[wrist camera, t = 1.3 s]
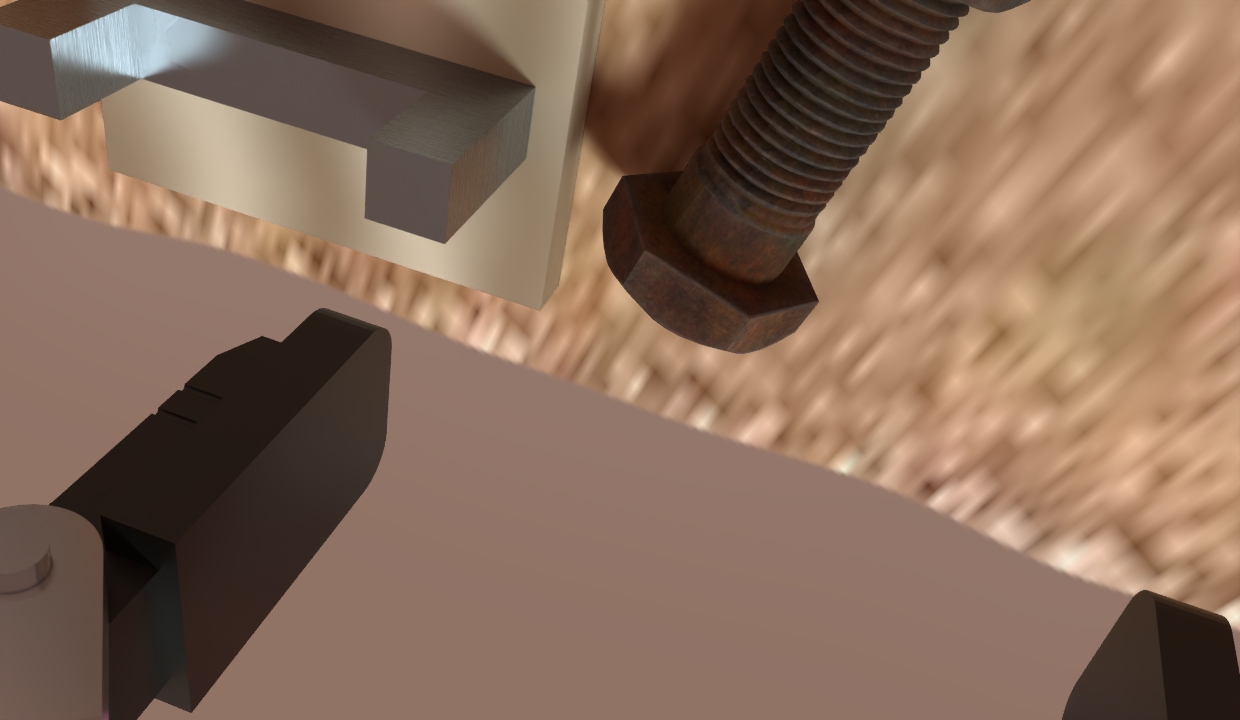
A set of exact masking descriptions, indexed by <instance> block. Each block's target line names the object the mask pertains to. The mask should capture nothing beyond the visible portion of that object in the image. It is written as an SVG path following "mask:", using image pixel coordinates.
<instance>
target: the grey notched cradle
mask: <svg viewBox="0 0 1240 720" xmlns="http://www.w3.org/2000/svg"><path fill="white" fill-rule="evenodd" d="M140 79H144V80H147V81H150V82H153V83H156V84H160V85H163V86H166V87H169V88H172V89H176V90H179V91H182V92H185V93H188V94H192V95H195V96H198V97H201V98H204V99H208V100H211V101H214V102H217V103H220V104H224V105H227V106H230V107H233V108H236V109H240V110H243V111H246V112H249V113H252V114H256V115H259V116H262V117H265V118H268V119H272V120H275V121H278V122H281V123H284V124H288V125H291V126H294V127H297V128H300V129H304V130H307V131H310V132H313V133H316V134H320V135H323V136H326V137H329V138H332V139H336V140H339V141H342V142H345V143H348V144H352V145H355V146H358V147H361V148H364V149H367V165H366V191H365V217H364V218H365V219H368V220H371V221H374V222H377V223H380V224H383V225H387V226H390V227H393V228H396V229H399V230H402V231H405V232H408V233H411V234H414V235H417V236H421V237H424V238H427V239H430V240H433V241H436V242H439V243H442V244H446V243H447V242H448V240H449V239H450V238H451V237H452V236H453V235H454V234H455V233H456V232H457V231H458V230H459V229H460V228H461V227H462V226H463V225H464V224H465V223H466V221H467V220H468V219H469V218H470V217H471V216H472V215H473V214H474V213H475V212H476V211H477V210H478V209H479V208H480V207H481V206H482V205H483V204H484V203H485V201H486V200H487V199H488V198H489V197H490V196H491V195H492V194H493V193H494V192H495V191H496V190H497V189H498V188H499V187H500V186H501V185H502V184H503V183H504V181H505V180H506V179H507V178H508V177H509V176H510V175H511V174H512V173H513V172H514V171H515V170H516V169H517V168H518V167H519V166H520V165H521V164H522V162H523V161H524V160H525V159H526V157H527V150H528V142H529V135H530V127H531V120H532V112H533V105H534V97H535V89H536V87H535V86H532V85H528V84H525V83H521V82H518V81H515V80H511V79H508V78H505V77H501V76H498V75H494V74H491V73H488V72H484V71H481V70H478V69H474V68H471V67H467V66H464V65H461V64H457V63H454V62H451V61H447V60H444V59H440V58H437V57H434V56H430V55H427V54H423V53H420V52H417V51H413V50H410V49H407V48H403V47H400V46H396V45H393V44H390V43H386V42H383V41H380V40H376V39H373V38H369V37H366V36H363V35H359V34H356V33H353V32H349V31H346V30H342V29H339V28H336V27H332V26H329V25H326V24H322V23H319V22H315V21H312V20H309V19H305V18H302V17H298V16H295V15H292V14H288V13H285V12H282V11H278V10H275V9H271V8H268V7H265V6H261V5H258V4H255V3H251V2H248V1H244V0H18V1H15V2H13V3H10V4H7V5H5V6H2V7H0V101H2V102H5V103H8V104H12V105H15V106H18V107H21V108H24V109H27V110H30V111H33V112H36V113H39V114H43V115H46V116H49V117H52V118H55V119H58V120H63V119H64V118H66V117H68V116H70V115H72V114H74V113H76V112H78V111H80V110H82V109H84V108H86V107H88V106H90V105H92V104H94V103H95V102H97V101H99V100H101V99H103V98H105V97H107V96H109V95H111V94H113V93H115V92H117V91H119V90H121V89H123V88H124V87H126V86H128V85H130V84H132V83H134V82H136V81H138V80H140Z"/></svg>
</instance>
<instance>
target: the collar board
mask: <svg viewBox="0 0 1240 720" xmlns="http://www.w3.org/2000/svg"><path fill="white" fill-rule="evenodd" d="M244 1H248V2H251V3H255V4H258V5H261V6H265V7H268V8H271V9H275V10H278V11H282V12H285V13H288V14H292V15H295V16H298V17H302V18H305V19H309V20H312V21H315V22H319V23H322V24H326V25H329V26H332V27H336V28H339V29H342V30H346V31H349V32H353V33H356V34H359V35H363V36H366V37H369V38H373V39H376V40H380V41H383V42H386V43H390V44H393V45H396V46H400V47H403V48H407V49H410V50H413V51H417V52H420V53H423V54H427V55H430V56H434V57H437V58H440V59H444V60H447V61H451V62H454V63H457V64H461V65H464V66H467V67H471V68H474V69H478V70H481V71H484V72H488V73H491V74H494V75H498V76H501V77H505V78H508V79H511V80H515V81H518V82H521V83H525V84H528V85H532V86H535V87H536V89H535V97H534V105H533V112H532V120H531V127H530V135H529V142H528V150H527V157H526V159H525V160H524V161H523V162H522V164H521V165H520V166H519V167H518V168H517V169H516V170H515V171H514V172H513V173H512V174H511V175H510V176H509V177H508V178H507V179H506V180H505V181H504V183H503V184H502V185H501V186H500V187H499V188H498V189H497V190H496V191H495V192H494V193H493V194H492V195H491V196H490V197H489V198H488V199H487V200H486V201H485V203H484V204H483V205H482V206H481V207H480V208H479V209H478V210H477V211H476V212H475V213H474V214H473V215H472V216H471V217H470V218H469V219H468V220H467V221H466V223H465V224H464V225H463V226H462V227H461V228H460V229H459V230H458V231H457V232H456V233H455V234H454V235H453V236H452V237H451V238H450V239H449V240H448V242H447V243H446V244H442V243H439V242H436V241H433V240H430V239H427V238H424V237H421V236H417V235H414V234H411V233H408V232H405V231H402V230H399V229H396V228H393V227H390V226H387V225H383V224H380V223H377V222H374V221H371V220H368V219H365V218H364V217H365V191H366V165H367V149H364V148H361V147H358V146H355V145H352V144H348V143H345V142H342V141H339V140H336V139H332V138H329V137H326V136H323V135H320V134H316V133H313V132H310V131H307V130H304V129H300V128H297V127H294V126H291V125H288V124H284V123H281V122H278V121H275V120H272V119H268V118H265V117H262V116H259V115H256V114H252V113H249V112H246V111H243V110H240V109H236V108H233V107H230V106H227V105H224V104H220V103H217V102H214V101H211V100H208V99H204V98H201V97H198V96H195V95H192V94H188V93H185V92H182V91H179V90H176V89H172V88H169V87H166V86H163V85H160V84H156V83H153V82H150V81H147V80H144V79H140V80H138V81H136V82H134V83H132V84H130V85H128V86H126V87H124V88H123V89H121V90H119V91H117V92H115V93H113V94H111V95H109V96H107V97H105V98H103V99H101V102H102V111H103V120H104V128H105V137H106V146H107V155H108V164H109V170H112V171H115V172H118V173H121V174H124V175H127V176H130V177H133V178H136V179H139V180H142V181H145V182H149V183H152V184H155V185H158V186H161V187H164V188H167V189H170V190H173V191H176V192H179V193H182V194H185V195H188V196H191V197H194V198H197V199H200V200H203V201H206V202H210V203H213V204H216V205H219V206H222V207H225V208H228V209H231V210H234V211H237V212H240V213H243V214H246V215H249V216H252V217H255V218H258V219H261V220H264V221H268V222H271V223H274V224H277V225H280V226H283V227H286V228H289V229H292V230H295V231H298V232H301V233H304V234H307V235H310V236H313V237H316V238H319V239H322V240H325V241H329V242H332V243H335V244H338V245H341V246H344V247H347V248H350V249H353V250H356V251H359V252H362V253H365V254H368V255H371V256H374V257H377V258H380V259H383V260H386V261H390V262H393V263H396V264H399V265H402V266H405V267H408V268H411V269H414V270H417V271H420V272H423V273H426V274H429V275H432V276H435V277H438V278H441V279H444V280H447V281H451V282H454V283H457V284H460V285H463V286H466V287H469V288H472V289H475V290H478V291H481V292H484V293H487V294H490V295H493V296H496V297H499V298H502V299H505V300H509V301H512V302H515V303H518V304H521V305H524V306H527V307H530V308H533V309H536V310H539V311H541V309H542V308H543V306H544V305H545V304H546V302H547V301H548V300H549V298H550V297H551V295H552V294H553V293H554V291H555V290H556V288H557V287H558V286H559V280H560V274H561V268H562V261H563V255H564V249H565V243H566V237H567V231H568V225H569V219H570V213H571V206H572V200H573V194H574V188H575V182H576V176H577V170H578V164H579V157H580V151H581V145H582V139H583V133H584V127H585V121H586V115H587V108H588V102H589V96H590V90H591V84H592V78H593V72H594V66H595V59H596V53H597V47H598V41H599V35H600V29H601V23H602V17H603V11H604V4H605V0H244Z"/></svg>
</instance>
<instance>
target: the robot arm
mask: <svg viewBox="0 0 1240 720" xmlns="http://www.w3.org/2000/svg"><path fill="white" fill-rule="evenodd" d="M391 349H392V342H391V336H390V333H389V331H388V330H387V329H385V328H382V327H379V326H376V325H373V324H370V323H367V322H364V321H361V320H358V319H356V318H353V317H350V316H347V315H344V314H341V313H338V312H335V311H332V310H329V309H326V308H321V309H318V310H316V311H315V312H313V313H312V314H311V315H310V316H309V317H308V318H307V319H306V320H305V321H303V322H302V323H301V324H300V325H299V326H298V327H297V328H296V329H295V330H294V331H293V332H292V333H291V334H290V335H289V336H288V337H287V338H286V339H285V340H283V342H278V341H275V340H272V339H269V338H266V337H263V336H261V337H259V338H257V339H254V340H252V341H250V342H247V343H245V344H243V345H240V346H238V347H235V348H233V349H231V350H228V351H226V352H224V353H221V354H219V355H217V356H216V357H215V358H214V359H213V360H211V361H210V362H209V363H208V364H207V365H206V366H205V367H203V368H202V369H201V370H200V371H199V372H198V373H197V374H195V375H194V376H193V377H192V378H191V379H190V380H189V381H188V382H187V383H185V386H184V389H183V390H182V391H181V390H178V391H176V392H175V393H174V394H173V395H172V396H171V397H170V398H169V399H167V400H166V401H165V402H164V403H163V404H162V405H161V406H160V407H159V408H158V412H157V413H156V415H154V414H151V415H150V416H148V417H147V418H146V419H145V420H144V421H143V422H142V423H141V424H139V425H138V426H137V427H136V428H135V429H134V430H133V431H132V432H130V434H128V435H127V436H126V437H125V438H124V439H123V440H122V441H120V442H119V443H118V444H117V445H116V446H115V447H114V448H113V449H111V450H110V451H109V452H108V453H107V454H106V455H105V456H104V457H103V458H101V459H100V460H99V461H98V462H97V463H96V464H95V465H94V466H93V467H91V468H90V469H89V470H88V471H87V472H86V473H85V474H84V475H82V476H81V477H80V478H79V479H78V480H77V481H76V482H74V483H73V484H72V485H71V486H70V487H69V488H68V489H67V490H65V492H63V493H62V494H61V495H60V496H59V497H58V498H57V499H55V500H54V501H53V502H52V503H50V504H49V505H36V504H30V505H17V506H10V507H4V508H0V720H137V719H138V717H139V716H140V715H141V714H142V713H143V711H144V710H145V709H146V708H147V706H148V705H149V704H150V703H151V702H152V700H153V699H154V698H156V699H159V700H161V701H163V702H166V703H168V704H171V705H173V706H176V707H178V708H181V709H183V710H186V711H188V712H190V713H191V712H193V710H194V709H195V708H196V706H197V705H198V704H199V702H200V701H201V700H202V699H203V697H204V696H205V695H206V694H207V692H208V691H209V690H210V688H211V687H212V686H213V685H214V683H215V682H216V681H217V679H218V678H219V677H220V676H221V674H222V673H223V672H224V670H225V669H226V668H227V666H228V665H229V664H230V662H232V660H233V659H234V658H235V656H236V655H237V654H238V652H239V651H240V650H241V649H242V647H243V646H244V645H245V644H246V642H247V641H248V640H249V638H250V637H251V636H252V634H253V633H254V632H255V631H256V630H257V628H258V627H259V626H260V624H261V623H262V622H263V621H264V619H265V618H266V617H267V615H268V614H269V613H270V612H271V610H272V609H273V608H274V606H275V605H276V604H277V602H278V601H279V600H280V599H281V597H282V596H283V595H284V594H285V592H286V591H287V590H288V588H289V587H290V586H291V585H292V583H293V582H294V581H295V579H296V578H297V577H298V575H299V574H300V573H301V572H302V571H303V569H304V568H305V567H306V565H307V564H308V563H309V561H310V560H311V559H312V558H313V556H314V555H315V554H316V552H317V551H318V550H319V549H320V547H321V546H322V545H323V543H324V542H325V541H326V540H327V538H328V537H329V536H330V535H331V533H332V532H333V531H334V529H335V528H336V527H337V526H338V524H339V523H340V522H341V520H342V519H343V518H344V517H345V515H346V514H347V513H348V511H349V510H350V509H351V508H352V506H353V505H354V504H355V503H356V501H357V500H358V499H359V497H360V496H361V495H362V494H363V492H364V491H365V489H366V488H367V487H368V485H369V483H370V482H371V480H372V478H373V476H374V474H375V472H376V470H377V467H378V465H379V462H380V460H381V456H382V454H383V450H384V446H385V441H386V433H387V415H388V399H389V383H390V382H389V381H390V365H391ZM1062 720H1240V673H1239V667H1238V662H1237V656H1236V650H1235V645H1234V639H1233V634H1232V629H1231V626H1230V624H1229V622H1228V620H1227V619H1226V618H1225V617H1223V616H1221V615H1219V614H1216V613H1213V612H1210V611H1207V610H1204V609H1201V608H1198V607H1195V606H1192V605H1189V604H1186V603H1183V602H1180V601H1177V600H1174V599H1172V598H1169V597H1166V596H1163V595H1160V594H1157V593H1154V592H1151V591H1148V590H1143V591H1140V592H1139V593H1137V594H1136V595H1135V596H1134V597H1133V598H1132V600H1131V601H1130V602H1129V604H1128V605H1127V607H1126V608H1125V610H1124V611H1123V613H1122V614H1121V616H1120V617H1119V619H1118V620H1117V622H1116V623H1115V625H1114V626H1113V628H1112V629H1111V631H1110V632H1109V634H1108V635H1107V637H1106V638H1105V640H1104V641H1103V643H1102V644H1101V646H1100V648H1099V649H1098V651H1097V652H1096V654H1095V655H1094V657H1093V658H1092V660H1091V661H1090V663H1089V664H1088V666H1087V668H1086V669H1085V670H1084V672H1083V674H1082V675H1081V677H1080V678H1079V679H1078V681H1077V683H1076V684H1075V686H1074V688H1073V690H1072V692H1071V694H1070V696H1069V699H1068V701H1067V704H1066V707H1065V710H1064V714H1063V717H1062Z"/></svg>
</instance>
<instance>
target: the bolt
mask: <svg viewBox="0 0 1240 720" xmlns="http://www.w3.org/2000/svg"><path fill="white" fill-rule="evenodd" d="M1029 1H1031V0H802V1H798V2H796V3H795V4H793V6H792V8H793V13H794V14H789V15H788V16H787V17H785V18H784V24H785V26H782V27H780V28H779V29H778V30H777V31H776V39H772V40H771V41H770V42H769V46H768V51H766V52H763V54H762V58H761V63H758V64H757V65H756V66H755V67H754V72H753V75H751V76H749V77H748V78H747V80H746V84H745V87H743V88H741V89H740V90H739V92H738V95H737V98H736V99H735V100H734V101H732V102H731V105H730V107H729V110H728V111H727V112H726V113H725V114H724V115H723V117H722V118H721V121H722V122H720V123H719V124H718V125H717V126H716V128H715V131H714V133H713V134H712V135H711V136H710V137H709V139H708V140H707V142H706V143H705V145H704V146H702V147H700V148H699V149H698V150H697V151H696V152H695V154H694V156H693V157H692V159H691V160H690V162H689V163H688V165H687V166H686V168H685V170H684V171H680V172H667V173H654V174H641V175H628V176H622V178H621V180H620V181H619V183H618V185H617V186H616V188H615V190H614V192H613V193H612V195H611V197H610V199H609V200H608V202H607V204H606V205H605V207H604V209H603V243H604V250H605V255H606V259H607V263H608V266H609V267H610V269H611V271H612V273H613V274H614V276H615V277H616V278H617V280H618V281H619V282H620V284H621V285H622V286H623V287H624V289H625V290H626V291H627V292H628V294H629V295H630V296H631V297H632V298H633V299H634V300H635V301H636V302H637V303H638V304H639V305H640V306H641V307H642V308H643V309H644V311H645V312H646V313H647V314H648V315H649V316H650V317H651V318H652V319H653V320H655V321H656V322H657V323H659V324H660V325H662V326H663V327H664V328H666V329H667V330H669V331H671V332H673V333H675V334H676V335H678V336H680V337H683V338H685V339H688V340H691V341H693V342H696V343H698V344H701V345H705V346H708V347H712V348H716V349H720V350H724V351H728V352H732V353H736V354H745V353H750V352H754V351H757V350H761V349H764V348H766V347H768V346H770V345H772V344H774V343H777V342H778V341H780V340H782V339H784V338H785V337H787V336H789V335H791V334H792V333H794V332H795V331H796V330H797V329H798V327H799V326H800V325H801V324H802V323H803V321H804V320H805V319H806V318H807V316H808V315H809V314H810V313H811V311H812V310H813V309H814V308H815V306H816V305H817V304H818V303H819V300H818V298H817V296H816V294H815V291H814V289H813V287H812V284H811V282H810V280H809V278H808V275H807V273H806V271H805V269H804V266H803V264H802V262H801V259H800V257H799V255H798V253H797V251H798V249H799V248H800V247H801V245H802V244H803V242H804V241H805V240H806V238H807V237H808V235H809V234H810V233H811V231H812V230H813V228H814V225H815V219H816V217H817V216H818V214H819V213H820V212H821V211H822V210H823V209H824V208H825V207H826V203H828V202H829V200H830V199H831V198H832V197H833V196H834V191H837V190H838V188H839V187H840V186H841V185H842V181H843V180H845V179H846V177H847V176H848V174H849V172H850V171H851V169H852V168H853V167H855V166H856V165H857V164H858V162H859V157H860V156H862V155H863V154H865V153H866V151H867V149H868V147H869V145H871V144H872V143H873V142H874V141H875V139H876V137H877V135H878V133H879V132H881V131H882V130H883V129H884V127H885V125H886V123H887V122H886V121H887V120H889V119H890V118H892V116H893V114H894V112H895V109H896V108H897V107H899V106H901V104H902V98H903V97H904V96H906V95H908V94H909V93H910V91H911V89H912V84H916V83H917V82H918V81H919V80H920V79H921V71H924V70H926V69H927V68H929V66H930V58H932V57H935V56H936V55H938V53H939V44H944V43H945V42H946V41H948V39H949V32H948V31H950V30H954V29H956V28H957V27H958V25H959V19H958V17H963V16H965V15H967V14H968V12H969V6H971V7H973V8H976V9H979V10H981V11H985V12H993V13H999V12H1003V11H1006V10H1010V9H1013V8H1015V7H1017V6H1020V5H1022V4H1024V3H1027V2H1029Z"/></svg>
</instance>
